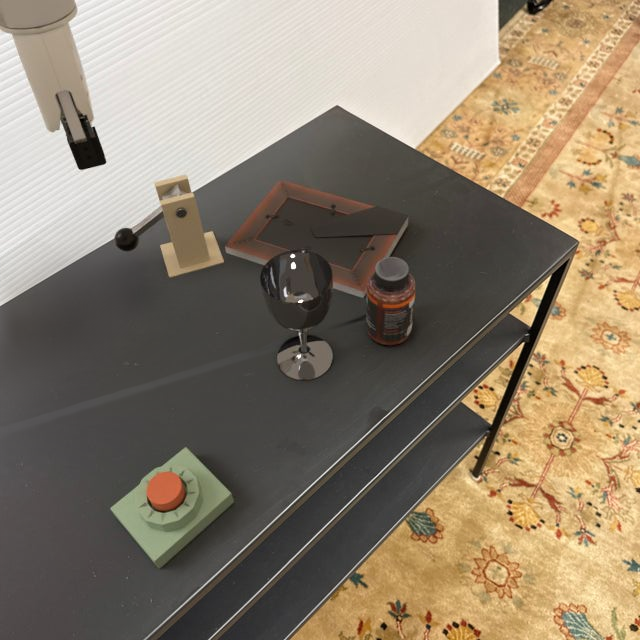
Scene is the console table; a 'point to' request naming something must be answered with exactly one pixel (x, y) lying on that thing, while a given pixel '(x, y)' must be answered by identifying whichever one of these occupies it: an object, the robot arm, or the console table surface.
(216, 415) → the console table surface
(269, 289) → the wine glass
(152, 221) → the lever
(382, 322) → the supplement bottle
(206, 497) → the button box
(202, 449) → the console table surface
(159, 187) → the toaster bracket
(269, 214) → the picture frame
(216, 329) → the console table surface
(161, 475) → the button
